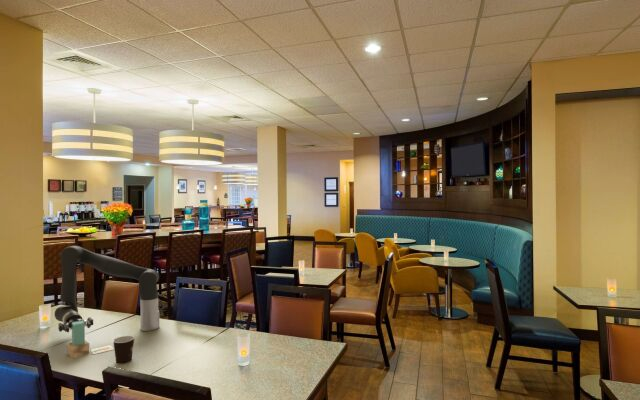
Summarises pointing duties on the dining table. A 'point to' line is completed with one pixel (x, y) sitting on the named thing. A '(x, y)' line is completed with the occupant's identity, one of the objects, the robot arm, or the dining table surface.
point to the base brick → (78, 349)
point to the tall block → (78, 333)
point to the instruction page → (102, 349)
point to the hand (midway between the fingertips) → (78, 328)
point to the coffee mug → (123, 349)
